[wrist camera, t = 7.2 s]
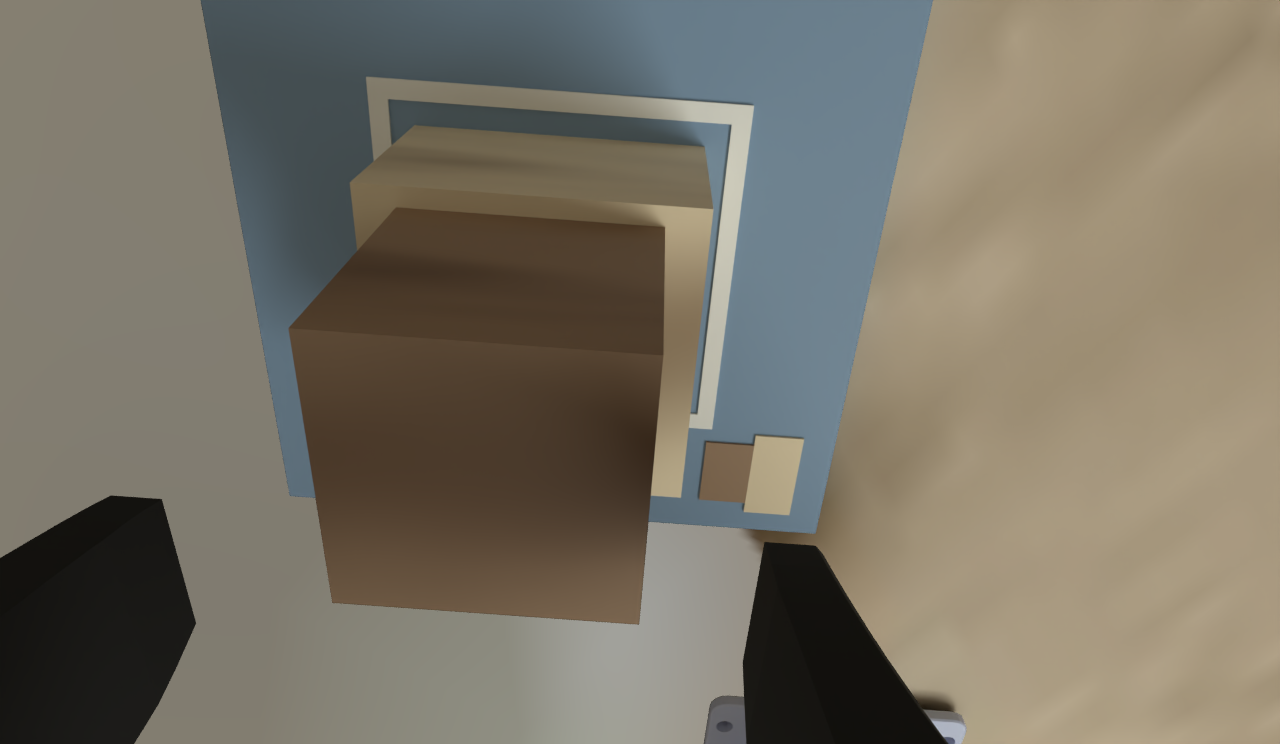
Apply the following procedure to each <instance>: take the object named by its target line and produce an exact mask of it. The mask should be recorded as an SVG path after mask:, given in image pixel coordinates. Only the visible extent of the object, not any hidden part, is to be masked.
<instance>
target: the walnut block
mask: <svg viewBox="0 0 1280 744" xmlns="http://www.w3.org/2000/svg"><path fill="white" fill-rule="evenodd" d="M664 283H665V227H656V226H643V225H629V224H615V223H602V222H588V221H575V220H561V219H547V218H534V217H520V216H507V215H493V214H479V213H466V212H452V211H439V210H425V209H411V208H398V207H396V208H395V209H394V210H393V211H392V212H391V214H390V215H389V216H388V217H387V218H386V219H385V220H384V221H383V222H382V224H381V225H380V226H379V227H378V228H377V229H376V230H375V231H374V233H373V234H372V235H371V236H370V237H369V238H368V239H367V240H366V242H365V243H364V244H363V245H362V246H361V247H360V248H359V249H358V251H357V252H356V253H355V254H354V255H353V256H352V257H351V258H350V260H349V261H348V262H347V263H346V264H345V265H344V266H343V267H342V269H341V270H340V271H339V272H338V273H337V274H336V275H335V276H334V277H333V279H332V280H331V281H330V282H329V283H328V284H327V285H326V286H325V288H324V289H323V290H322V291H321V292H320V293H319V294H318V295H317V297H316V298H315V299H314V300H313V301H312V302H311V303H310V304H309V306H308V307H307V308H306V309H305V310H304V311H303V312H302V313H301V315H300V316H299V317H298V318H297V319H296V320H295V321H294V322H293V324H292V325H291V326H290V327H289V328H288V330H289V336H290V342H291V348H292V354H293V361H294V367H295V373H296V379H297V386H298V392H299V398H300V404H301V410H302V417H303V423H304V429H305V435H306V442H307V448H308V454H309V460H310V466H311V473H312V479H313V485H314V491H315V498H316V504H317V510H318V516H319V522H320V528H321V535H322V540H323V547H324V554H325V560H326V566H327V572H328V578H329V584H330V591H331V597H332V603H343V604H357V605H372V606H385V607H401V608H413V609H428V610H442V611H455V612H469V613H484V614H499V615H512V616H526V617H541V618H554V619H569V620H583V621H596V622H597V621H598V622H611V623H625V624H639V619H640V609H641V598H642V587H643V576H644V565H645V554H646V543H647V532H648V521H649V510H650V499H651V488H652V477H653V466H654V455H655V443H656V432H657V421H658V410H659V399H660V388H661V377H662V366H663V354H664Z"/></svg>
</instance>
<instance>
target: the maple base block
mask: <svg viewBox="0 0 1280 744" xmlns="http://www.w3.org/2000/svg"><path fill="white" fill-rule="evenodd" d="M350 190H351V199H352V208H353V217H354V226H355V236H356V245H357V251H358V249H359V248H360V247H361V246H362V245H363V244H364V243H365V242H366V240H367V239H368V238H369V237H370V236H371V235H372V234H373V233H374V231H375V230H376V229H377V228H378V227H379V226H380V225H381V224H382V222H383V221H384V220H385V219H386V218H387V217H388V216H389V215H390V214H391V212H392V211H393V210H394V209H395V208H396V207H398V208H411V209H425V210H439V211H452V212H466V213H479V214H493V215H507V216H520V217H534V218H547V219H561V220H575V221H588V222H602V223H615V224H629V225H643V226H656V227H665V283H664V354H663V366H662V377H661V388H660V399H659V410H658V421H657V432H656V443H655V455H654V466H653V477H652V488H651V496H664V497H678V498H681V492H682V483H683V474H684V466H685V457H686V448H687V439H688V430H689V421H690V413H691V404H692V395H693V386H694V377H695V368H696V360H697V351H698V342H699V333H700V324H701V316H702V307H703V298H704V289H705V280H706V271H707V263H708V254H709V245H710V236H711V227H712V219H713V210H714V209H713V202H712V195H711V188H710V181H709V174H708V166H707V159H706V152H705V147H702V146H689V145H675V144H662V143H648V142H635V141H621V140H608V139H594V138H581V137H567V136H554V135H540V134H527V133H513V132H500V131H486V130H473V129H459V128H446V127H432V126H419V125H414V126H413V127H412V128H411V129H410V130H409V131H407V132H406V133H405V134H404V135H403V136H402V137H401V138H400V139H398V140H397V141H396V142H395V143H394V144H393V145H392V146H390V147H389V148H388V149H387V150H386V151H385V152H384V153H383V154H381V155H380V156H379V157H378V158H377V159H376V160H375V161H373V162H372V163H371V164H370V165H369V166H368V167H367V168H366V169H364V170H363V171H362V172H361V173H360V174H359V175H358V176H356V177H355V178H354V179H353V180H352V181H351V182H350Z"/></svg>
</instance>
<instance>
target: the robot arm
mask: <svg viewBox="0 0 1280 744" xmlns="http://www.w3.org/2000/svg"><path fill="white" fill-rule="evenodd" d="M195 624H196V622H195V618H194V614H193V611H192V607H191V603H190V600H189V597H188V592H187V589H186V586H185V582H184V578H183V574H182V571H181V567H180V564H179V560H178V556H177V553H176V549H175V546H174V542H173V538H172V535H171V531H170V528H169V524H168V520H167V517H166V513H165V509H164V506H163V502H162V499H152V498H138V497H123V496H109V497H107V498H105V499H103V500H101V501H100V502H97V503H96V504H94V505H92V506H90V507H88V508H86V509H84V510H82V511H81V512H79V513H77V514H75V515H73V516H72V517H70V518H68V519H66V520H65V521H63V522H61V523H59V524H58V525H56V526H54V527H53V528H51V529H49V530H47V531H46V532H44V533H42V534H40V535H39V536H37V537H35V538H34V539H32V540H30V541H29V542H27V543H25V544H23V545H22V546H20V547H19V548H17V549H15V550H13V551H12V552H10V553H8V554H6V555H5V556H3V557H1V558H0V744H134V743H135V741H136V739H137V738H138V737H139V735H140V733H141V732H142V730H143V729H144V727H145V725H146V724H147V722H148V720H149V719H150V717H151V715H152V714H153V712H154V710H155V709H156V707H157V706H158V704H159V702H160V700H161V698H162V696H163V694H164V692H165V690H166V688H167V686H168V683H169V681H170V679H171V677H172V675H173V673H174V671H175V669H176V667H177V665H178V662H179V660H180V658H181V656H182V654H183V651H184V649H185V647H186V645H187V642H188V640H189V638H190V636H191V633H192V631H193V629H194V627H195ZM743 679H744V697H737V696H721V697H718V698H716V699H714V700H713V701H712V702H711V704H710V708H709V714H708V720H707V727H706V733H705V739H704V744H961V743H962V741H963V738H964V736H965V733H966V725H965V722H964V719H963V718H962V716H961V715H960V714H958V713H955V712H951V711H937V710H923V709H922V708H921V706H920V705H919V703H918V702H917V700H916V699H915V698H914V696H913V695H912V693H911V692H910V690H909V689H908V687H907V686H906V685H905V683H904V682H903V680H902V679H901V677H900V676H899V675H898V673H897V672H896V670H895V669H894V667H893V666H892V664H891V663H890V662H889V660H888V659H887V657H886V656H885V654H884V653H883V651H882V650H881V648H880V647H879V645H878V644H877V642H876V641H875V639H874V638H873V636H872V634H871V633H870V631H869V630H868V628H867V627H866V625H865V623H864V622H863V620H862V619H861V617H860V615H859V614H858V612H857V611H856V609H855V608H854V606H853V604H852V603H851V601H850V599H849V598H848V596H847V595H846V593H845V591H844V590H843V588H842V586H841V585H840V583H839V581H838V579H837V578H836V576H835V574H834V573H833V571H832V569H831V568H830V566H829V564H828V562H827V561H826V559H825V557H824V555H823V554H822V553H821V552H820V550H819V549H818V548H817V547H816V546H811V545H797V544H783V543H769V542H764V548H763V553H762V559H761V565H760V570H759V576H758V581H757V587H756V592H755V598H754V603H753V609H752V614H751V620H750V626H749V631H748V636H747V642H746V647H745V653H744V659H743Z"/></svg>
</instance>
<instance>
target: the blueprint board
mask: <svg viewBox="0 0 1280 744" xmlns="http://www.w3.org/2000/svg"><path fill="white" fill-rule="evenodd" d="M932 2H933V0H201V4H202V10H203V16H204V21H205V27H206V32H207V38H208V43H209V49H210V54H211V60H212V66H213V71H214V77H215V82H216V88H217V94H218V99H219V104H220V110H221V115H222V121H223V127H224V132H225V138H226V144H227V149H228V155H229V160H230V166H231V171H232V177H233V182H234V188H235V194H236V199H237V204H238V210H239V215H240V221H241V227H242V232H243V238H244V244H245V249H246V255H247V260H248V266H249V271H250V277H251V282H252V288H253V293H254V299H255V305H256V310H257V316H258V321H259V327H260V333H261V338H262V344H263V349H264V355H265V360H266V366H267V372H268V377H269V383H270V388H271V394H272V399H273V405H274V410H275V416H276V422H277V427H278V433H279V438H280V443H281V449H282V455H283V460H284V465H285V472H286V477H287V483H288V488H289V494H290V496H298V497H312V498H315V491H314V485H313V479H312V473H311V466H310V460H309V454H308V448H307V442H306V435H305V429H304V423H303V417H302V410H301V404H300V398H299V392H298V386H297V379H296V373H295V367H294V361H293V354H292V348H291V342H290V336H289V330H288V328H289V327H290V326H291V325H292V324H293V322H294V321H295V320H296V319H297V318H298V317H299V316H300V315H301V313H302V312H303V311H304V310H305V309H306V308H307V307H308V306H309V304H310V303H311V302H312V301H313V300H314V299H315V298H316V297H317V295H318V294H319V293H320V292H321V291H322V290H323V289H324V288H325V286H326V285H327V284H328V283H329V282H330V281H331V280H332V279H333V277H334V276H335V275H336V274H337V273H338V272H339V271H340V270H341V269H342V267H343V266H344V265H345V264H346V263H347V262H348V261H349V260H350V258H351V257H352V256H353V255H354V254H355V253H356V252H357V245H356V236H355V226H354V217H353V208H352V199H351V190H350V182H351V181H352V180H353V179H354V178H355V177H356V176H358V175H359V174H360V173H361V172H362V171H363V170H364V169H366V168H367V167H368V166H369V165H370V164H371V163H372V162H373V161H375V160H376V159H377V158H378V157H379V156H380V155H381V154H383V153H384V152H385V151H386V150H387V149H388V148H389V147H390V146H392V145H393V144H394V143H395V142H396V141H397V140H398V139H400V138H401V137H402V136H403V135H404V134H405V133H406V132H407V131H409V130H410V129H411V128H412V127H413V126H414V125H419V126H432V127H446V128H459V129H473V130H486V131H500V132H513V133H527V134H540V135H554V136H567V137H581V138H594V139H608V140H621V141H635V142H648V143H662V144H675V145H689V146H702V147H705V152H706V159H707V166H708V174H709V181H710V188H711V195H712V202H713V209H714V210H713V219H712V227H711V236H710V245H709V254H708V263H707V271H706V280H705V289H704V298H703V307H702V316H701V324H700V333H699V342H698V351H697V360H696V368H695V377H694V386H693V395H692V404H691V413H690V421H689V430H688V439H687V448H686V457H685V466H684V474H683V483H682V492H681V498H678V497H664V496H651V499H650V510H649V521H648V522H661V523H675V524H688V525H702V526H716V527H730V528H744V529H758V530H772V531H786V532H800V533H814V534H815V533H816V529H817V524H818V520H819V515H820V511H821V506H822V502H823V497H824V492H825V488H826V483H827V479H828V474H829V470H830V465H831V461H832V456H833V452H834V447H835V443H836V438H837V433H838V429H839V424H840V420H841V415H842V411H843V406H844V402H845V397H846V393H847V388H848V384H849V379H850V374H851V370H852V365H853V361H854V356H855V352H856V347H857V343H858V338H859V334H860V329H861V324H862V320H863V315H864V311H865V306H866V302H867V297H868V293H869V288H870V284H871V279H872V275H873V270H874V265H875V261H876V256H877V252H878V247H879V243H880V238H881V234H882V229H883V225H884V220H885V216H886V211H887V206H888V202H889V197H890V193H891V188H892V184H893V179H894V175H895V170H896V166H897V161H898V157H899V152H900V147H901V143H902V138H903V134H904V129H905V125H906V120H907V116H908V111H909V107H910V102H911V97H912V93H913V88H914V84H915V79H916V75H917V70H918V66H919V61H920V57H921V52H922V48H923V43H924V38H925V34H926V29H927V25H928V20H929V16H930V11H931V7H932Z"/></svg>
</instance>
